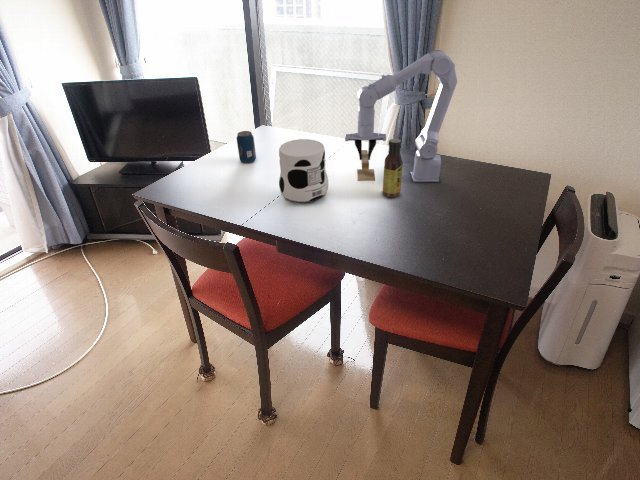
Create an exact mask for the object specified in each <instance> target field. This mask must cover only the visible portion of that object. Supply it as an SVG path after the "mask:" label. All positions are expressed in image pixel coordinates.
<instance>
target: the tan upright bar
mask: <svg viewBox="0 0 640 480" xmlns="http://www.w3.org/2000/svg"><path fill="white" fill-rule="evenodd" d="M361 154H362V160H360V161H361V162H360V164H361V168H357V169H356V173H357V174H356V176H357V178H356V179H357V182H366V181H367V182H375V181H376V175H375V169H374V168H370V160H369V159H368V150H367V149H362V150H361Z"/></svg>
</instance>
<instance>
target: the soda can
mask: <svg viewBox="0 0 640 480" xmlns="http://www.w3.org/2000/svg"><path fill="white" fill-rule="evenodd" d="M236 135H237V136H236V144H237V153H238V159H239V161H240V162H241V163H242V164H245V165H247V164H252V163H255V161H256V159H257V153H256V145H255V137H254V135H253V133H252V131H249V130H242V131H239V132H238V133H237V134H236Z"/></svg>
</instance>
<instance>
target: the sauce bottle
mask: <svg viewBox="0 0 640 480" xmlns="http://www.w3.org/2000/svg"><path fill="white" fill-rule="evenodd" d="M401 145H402V140H401V139H400V138H389V139H388V151H387V152H388V153H387V155H386V157H385V159H384V166H383V176H382V177H383V178H382V179H383V180H382V194H383V196H384V197H385V198H391V199H394V198H398V197H399V196H400V194H401V190H402V179H403V178H402V176H403V167H404V162H403V158H402V155H401Z"/></svg>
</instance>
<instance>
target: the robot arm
mask: <svg viewBox="0 0 640 480" xmlns="http://www.w3.org/2000/svg"><path fill="white" fill-rule="evenodd" d="M431 71H432V72H431ZM432 73H433V74H434V75H435V76H436V78H437V79H438V81H439V86H438V89H437V91H436V94H435V97H434V99H433V103H432V106H431V108H430V112H429V115H428V117H427V119H426V123H425V126H424V128H422V129H421V131H420V133H419V135H418V136H417V137H416V139H415V142H414V144H415V147H416V148H417V149H416V151H415V153H414V161H413V170H412V171H410V176H411V179H412V182H413V183H439V182H440V174H441V167H442V157H441V155H440V154H438V144H439V141H440V140H439V139H440V136H439V133H440V130H441V127H442V124H443V122H444V119H445V117H446V114H447V111H448V108H449V106H450V103H451V100H452V98H453V95H454V92H455V89H456V87H457V83H458V77H457V73H456V64H455V62H454V61H453V60H452V58H451V57H450V56H449V55H447V54H446V53H445V52H444V51H443V50H442V49H434V50H432V51H430V52H429V53H426V54H424V55H423V56H420V57H419V58H418V59H416V60H415V61H414V62H412V63H410V64H409V65H407V66H406V67H404V68H403V69H401V70H400V71H398V72H396V73H395V74H388V73H387V74H386V75H385V74H382V75H381V76H380V78H379V79H377V80H376V81H374V82H372V83H371V82H370V83H368V84H367V86H366V85H364V86H362V87H361V88H360V89H359V90H358V92H357V99H358V104H357V105H358V107H357V108H358V109H357V132H355V133H346V134H344V141H345V142H350V141H354V145H355V148H356V150H357V152H358V156H359V161H361V160H362V154H361V150H363V149H362V148H363V143H362V141H368V150H367V151H368V159H369V161H370V160H371V157H372V153H373V152H374V149H375V147H376V145H377V141H382V142H385V141H387V134H386V133H379V132H375V114H376V113H375V112H376V110H375V105H376V103H377V101H379V100H381V99H383V98H384V97H386V96H388V95H390V94H391V93H393V92H395V91H396V90H397V87H398V85H400V84H402V83H404V82H406V81H408V80H410V79H412V78H413V77H416V76H418V75H420V74H424V75H431V74H432Z"/></svg>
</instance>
